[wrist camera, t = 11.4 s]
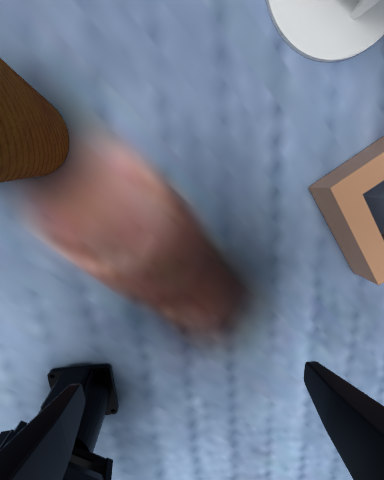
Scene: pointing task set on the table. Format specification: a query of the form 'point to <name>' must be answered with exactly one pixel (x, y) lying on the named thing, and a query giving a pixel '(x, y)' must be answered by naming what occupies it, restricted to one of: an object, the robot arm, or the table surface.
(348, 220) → the frame
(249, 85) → the table surface
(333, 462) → the table surface
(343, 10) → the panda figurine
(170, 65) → the table surface
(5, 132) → the disposable coffee cup
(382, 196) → the post
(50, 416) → the robot arm
